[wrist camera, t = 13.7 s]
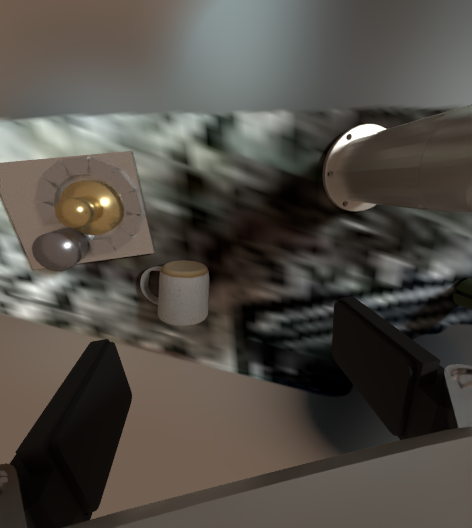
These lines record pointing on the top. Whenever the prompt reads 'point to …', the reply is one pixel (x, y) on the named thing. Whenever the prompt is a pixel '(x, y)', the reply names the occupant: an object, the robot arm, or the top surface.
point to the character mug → (464, 294)
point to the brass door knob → (89, 207)
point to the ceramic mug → (180, 292)
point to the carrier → (48, 195)
